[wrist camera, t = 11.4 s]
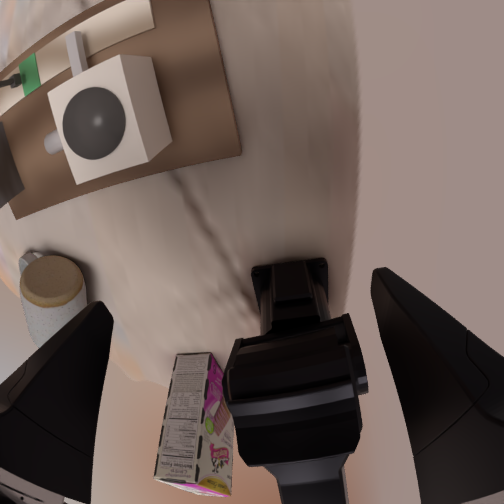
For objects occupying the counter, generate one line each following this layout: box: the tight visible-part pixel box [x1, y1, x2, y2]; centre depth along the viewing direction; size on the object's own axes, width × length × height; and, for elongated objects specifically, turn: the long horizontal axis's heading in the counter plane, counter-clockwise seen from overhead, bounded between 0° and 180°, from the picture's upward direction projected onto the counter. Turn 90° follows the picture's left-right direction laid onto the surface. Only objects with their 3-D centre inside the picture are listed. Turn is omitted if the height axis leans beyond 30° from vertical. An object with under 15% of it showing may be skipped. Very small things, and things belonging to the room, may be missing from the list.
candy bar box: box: [153, 353, 234, 497], centre depth 28 cm, size 11×5×16 cm, turn 13°
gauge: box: [44, 31, 172, 185], centre depth 13 cm, size 10×8×5 cm
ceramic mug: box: [19, 253, 87, 348], centre depth 23 cm, size 11×8×8 cm
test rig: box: [0, 0, 242, 220], centre depth 13 cm, size 14×23×7 cm, turn 100°
